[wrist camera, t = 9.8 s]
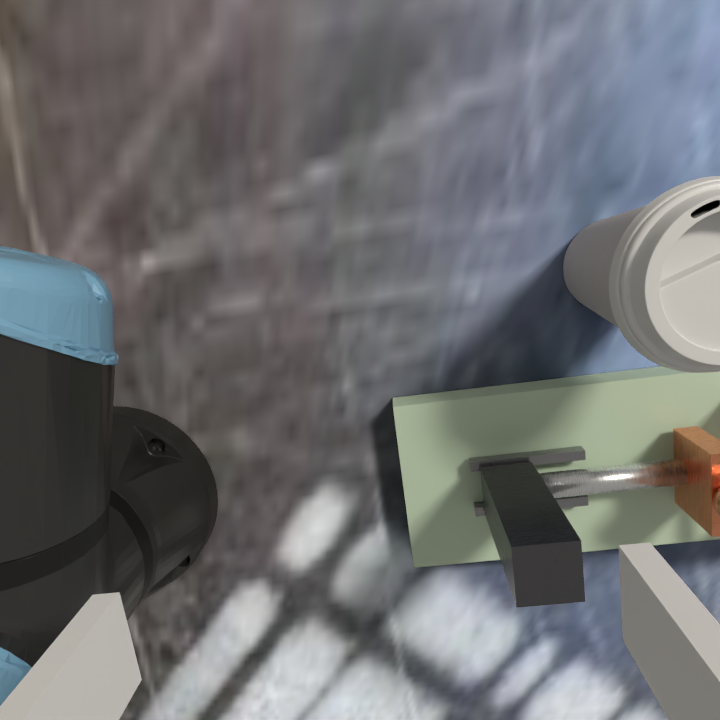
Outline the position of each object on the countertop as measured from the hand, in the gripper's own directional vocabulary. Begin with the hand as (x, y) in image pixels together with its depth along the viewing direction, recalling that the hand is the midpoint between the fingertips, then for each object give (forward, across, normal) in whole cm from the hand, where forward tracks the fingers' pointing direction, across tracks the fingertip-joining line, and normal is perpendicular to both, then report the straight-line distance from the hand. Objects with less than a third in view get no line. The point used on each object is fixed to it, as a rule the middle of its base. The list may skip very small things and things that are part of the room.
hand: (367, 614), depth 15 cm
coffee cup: (+29, +17, +5) cm, 34 cm away
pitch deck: (+29, +12, -9) cm, 32 cm away
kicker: (+26, +14, -9) cm, 30 cm away
